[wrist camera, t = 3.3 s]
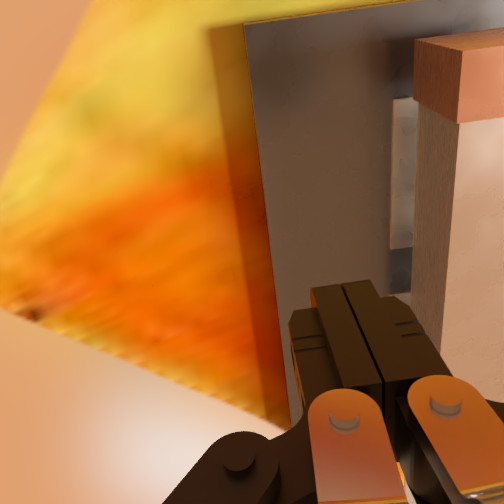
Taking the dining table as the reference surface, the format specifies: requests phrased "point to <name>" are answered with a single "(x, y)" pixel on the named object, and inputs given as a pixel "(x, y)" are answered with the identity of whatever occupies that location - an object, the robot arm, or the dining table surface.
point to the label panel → (343, 144)
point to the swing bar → (461, 204)
